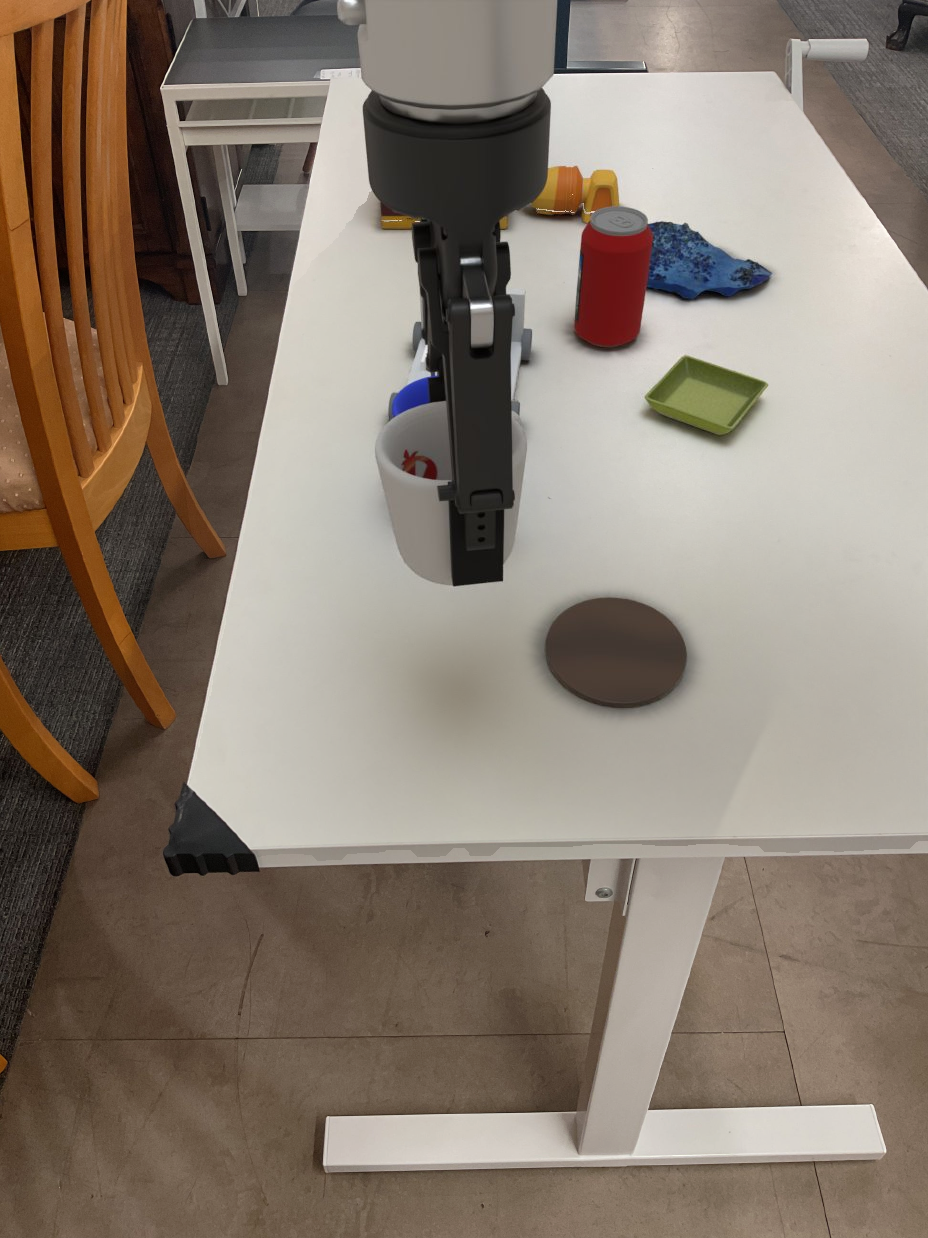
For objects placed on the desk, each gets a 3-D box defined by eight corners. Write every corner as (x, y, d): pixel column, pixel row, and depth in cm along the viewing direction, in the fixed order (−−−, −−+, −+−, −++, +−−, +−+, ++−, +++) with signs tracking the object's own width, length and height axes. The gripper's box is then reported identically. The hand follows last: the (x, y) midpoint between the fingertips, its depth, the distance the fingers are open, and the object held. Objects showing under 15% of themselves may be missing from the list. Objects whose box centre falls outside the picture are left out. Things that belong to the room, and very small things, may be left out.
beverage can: (605, 310, 99) (618, 196, 90) (653, 336, 96) (670, 220, 87) (559, 332, 96) (567, 216, 88) (606, 359, 93) (620, 242, 84)
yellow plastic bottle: (520, 222, 114) (620, 224, 113) (521, 176, 110) (625, 177, 109) (523, 203, 117) (619, 204, 116) (524, 157, 113) (624, 158, 112)
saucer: (765, 401, 88) (770, 381, 86) (727, 448, 83) (732, 429, 82) (680, 372, 91) (684, 353, 90) (639, 416, 86) (642, 397, 85)
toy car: (516, 362, 75) (375, 352, 76) (513, 460, 82) (383, 450, 83) (536, 256, 87) (413, 249, 88) (531, 349, 94) (418, 342, 95)
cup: (459, 476, 60) (454, 362, 54) (571, 513, 57) (578, 397, 51) (360, 573, 54) (343, 456, 48) (480, 621, 50) (476, 502, 45)
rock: (665, 224, 112) (667, 208, 111) (786, 276, 104) (791, 259, 102) (583, 268, 106) (584, 252, 104) (705, 327, 97) (709, 310, 96)
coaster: (703, 699, 64) (704, 695, 64) (560, 715, 63) (560, 710, 63) (664, 595, 71) (665, 590, 71) (534, 608, 70) (534, 603, 70)
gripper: (347, 15, 44) (385, 420, 60) (380, 210, 29) (418, 672, 46) (506, 6, 44) (501, 409, 61) (614, 193, 30) (569, 655, 47)
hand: (465, 522), depth 53 cm, fingers closed on cup, 8 cm apart
